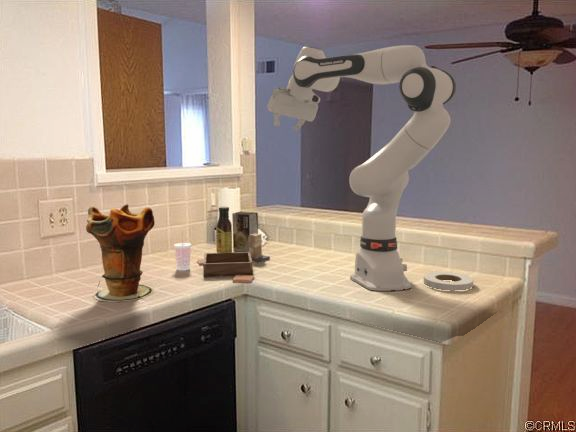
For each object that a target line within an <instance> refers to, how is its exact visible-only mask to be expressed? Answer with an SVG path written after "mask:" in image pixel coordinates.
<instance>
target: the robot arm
mask: <svg viewBox="0 0 576 432" xmlns="http://www.w3.org/2000/svg"><path fill="white" fill-rule="evenodd" d="M341 78H348V79H349V78H350V79H355V80H357V81H361V82H364V83H368V84H374V85H390V84H397V83H399V86H398V87H399V92H400V95H401V97H402V99H403V100H404V101H405V103H406V104H407V106H408V109H410V110H411V112H413V116H411V118H410V119H409V120H408V121H407V123H405V125H403V127H402V128H400V130H399V131H398V132H397V133H396V135H394V137H393V138H392V139H391V140H390V141H389V142H388V143H386V144H385V146H383V147H382V148H381V149H379V150H378V151H377V152H376V153H375V154H374V155H372V156H371V157H370V158H368V159H367V160H366V161H365V162H363V163H362V164H359V165H357V166H356V167H354V169H352V170H351V171H350V175H349V180H348V182H349V187H350V189H351V190H352V192H353V193H354V194H356V195H358V196H361V197H366V198H369V201H368V203H367V206H366V208H364V210H363V212H362V216H361V217H362V218H361V219H362V221H361V236H360V240H359V246H360V249H359V250H358V252H357V253H356V254H355V261H354V262H355V263H354V264H355V265H354V273H353V274H350V275H349V279H350V280H352V281H353V280H354V282H355V283H357V284H359V285H360V286H362V287H364V288H366V289H367V290H369V291H379V292H382V291H383V292H387V291H388V292H389V291H390V292H391V290H395V291H404V290H403V289H405V290H409V288H410V289H411V288H412V284H411V283H410V281H409V280H408V278H407V276H406V275H405V272H407V271H408V265H407V264H406V263H403V258H402V257H400V254H399V251H398V250H397V249H398V240H397V237H396V231H397V230H396V229H397V228H396V227H397V226H396V225H397V213H398V208H399V204H400V201H401V198H402V194H403V192H404V190H405V188H406V187H407V186H408V184H409V181H410V176H409V175H410V174H409V171H410V170H411V169H413V168H415V167H416V166H417V165H418V164H419V163H420V162H421V161H422V160H423V159H424V158H425V157H426V156H427V155H428V153H430V152H431V151H432V150H433V148H434V147H435V146H436V145H437V144H438V143H439V141H440V140H441V139H442V138H443V136H444V135H445V133H446V132H447V130H448V129H449V127H450V125H451V116H450V113H449V112H448V110H447V109H445V107H444V105H445V104H447V103H448V102H450V101H451V100H452V99H453V97H454V96H455V94H456V90H457V83H456V80H455V79H454V77H453V76H452V75H451V74H450V73H448V72H447V71H445V70H443V69H441V68H439V67H436V66H435V65H432V66H428V65H427V62H426V55H425V53H424V51H423V50H422V49H421V48H420V47H419V46H417V45H410V44H409V45H404V44H403V45H394V46H388V47H383V48H377V49H374V50H370V51H366V52H365V51H364V52H360V53H359V52H358V53H354V54H349V55H342V56H341V55H340V56H334V57H326V55H325V53H324V51H323V50H322V49H320V48H318V47H314V46H303V47H302V48H301V50H300V51H299V53H298V54H297V57H296V60H295V63H294V66H293V71H292V75H291V77H290V78H289V80H288V83H287V86H286V87H283V86H282V87H281V86H278V87H276V88H274V89H273V92H272V95H271V97H270V99H269V102H267V103H268V104H267V106H266V107H267V108H266V109H267V110H268V111H269V112H270V113H273V120H274V122H273V126H275V127H280V125H281V121H279V119H280V118H281V116H286V117H289V118H293V119H298V122H297V124H294V126H293V128H292V129H293V130H294V131H296V132H299V131H300V128H301V127H302V126H303V125H304V124H305V122H313V121H314V120H315V119H316V115H317V113H318V110H319V105H318V104H319V103H320V102H321V97H319V96H318V95H317V94H316V93H315V92H314V91H313V90H315V91H320V92H322V93H323V92H325V93H331V92H333V91H335V90H336V89H337V87H338V86H339V84H340V81H341Z"/></svg>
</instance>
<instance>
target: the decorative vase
mask: <svg viewBox="0 0 576 432" xmlns="http://www.w3.org/2000/svg"><path fill="white" fill-rule="evenodd" d="M153 213H154V212H153V210H152V208H150V207H148V206H145V207H144V208H143V209H142V210H141V212H140V213H139V212H138V213H136V212H135V213H133V212H131V211H130V210H129V204H128V203H127V204H124V205H123V206H121V208H120V209H117V208H111V209H110V212H109V214H103V213H101V211H100V210H99V209H98V208H97V207H95V206H90V207H89V208H88V209H87V214H88V218H87V219H86V221H87V224H86V227H85V230H86V232H87V233H88V234H91V235H92V236H93V237H94V238H95V240H96V241H97V243H99V247H100V250H101V260H102V261H101V262H102V269H103V272H104V273H103V274H102V275H101V278H104V280H105V284H106V287H103V288H100V289H98V290H96V291H95V292H94V293H93V298H94V300H98V301H99V302H108V303H110V302H111V303H117V302H130V301H134V300H139V299H146V298H147V297H148V296H151V295H152V294H154V292H155V288H153V287H149V286H147V285H144V284H140V281H141V279H142V278H141V276H142V275H143V273H144V272H143V270H141V266H142V265H141V264H142V259H143V257H142V256H143V248H144V246H145V238H146V237H147V235H148V233H149V232H150V231H151V230H152V229H153V228H154V227H155V215H154V214H153ZM100 282H101V281H99V282H98V286H97V287H99V285H100Z"/></svg>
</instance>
